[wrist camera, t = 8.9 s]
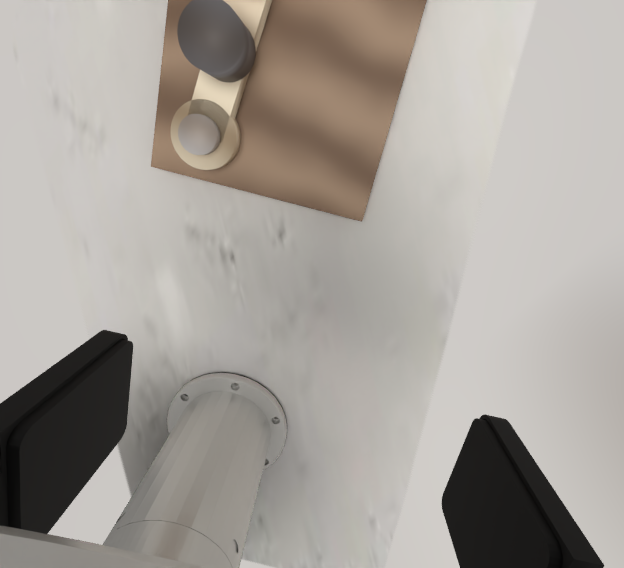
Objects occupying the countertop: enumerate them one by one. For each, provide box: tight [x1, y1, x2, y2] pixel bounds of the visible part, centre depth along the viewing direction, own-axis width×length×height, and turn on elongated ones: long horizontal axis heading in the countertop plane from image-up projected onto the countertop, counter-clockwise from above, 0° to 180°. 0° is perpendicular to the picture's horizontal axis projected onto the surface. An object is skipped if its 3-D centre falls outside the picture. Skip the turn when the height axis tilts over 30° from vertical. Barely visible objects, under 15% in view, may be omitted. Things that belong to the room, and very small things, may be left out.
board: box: [151, 0, 427, 221], centre depth 28 cm, size 23×18×5 cm
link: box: [171, 0, 272, 170], centre depth 27 cm, size 14×5×6 cm, turn 158°
